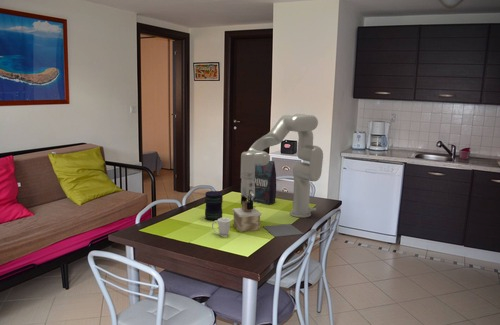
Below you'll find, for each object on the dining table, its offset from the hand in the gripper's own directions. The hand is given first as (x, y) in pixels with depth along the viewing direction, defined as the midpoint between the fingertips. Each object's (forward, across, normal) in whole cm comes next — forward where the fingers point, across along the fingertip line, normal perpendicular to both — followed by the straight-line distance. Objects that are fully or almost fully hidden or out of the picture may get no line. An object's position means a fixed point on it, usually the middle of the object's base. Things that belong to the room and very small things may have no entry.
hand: (246, 206), depth 225 cm
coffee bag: (+12, +45, -27) cm, 54 cm away
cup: (+12, -7, +16) cm, 21 cm away
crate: (+11, 0, 0) cm, 11 cm away
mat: (+11, -10, -17) cm, 23 cm away
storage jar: (+12, +19, +13) cm, 26 cm away
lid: (+3, 0, 0) cm, 3 cm away
